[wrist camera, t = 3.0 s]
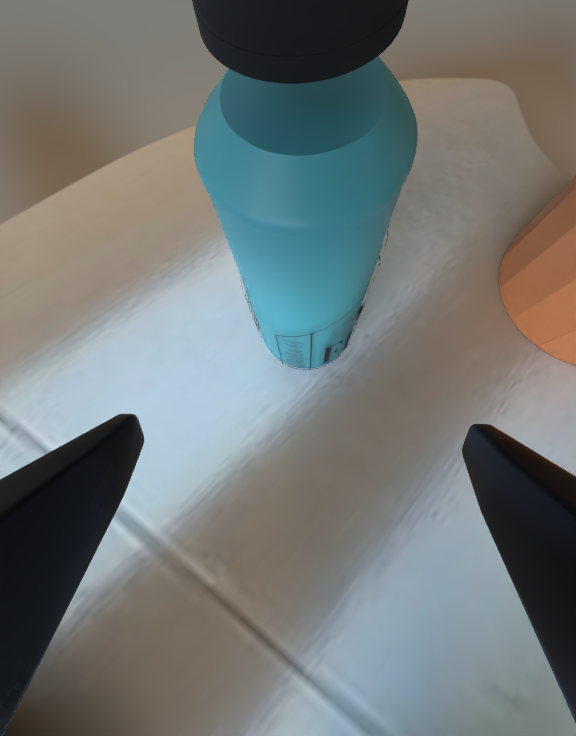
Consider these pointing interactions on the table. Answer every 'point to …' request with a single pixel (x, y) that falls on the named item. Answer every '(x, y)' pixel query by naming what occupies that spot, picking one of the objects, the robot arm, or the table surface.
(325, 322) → the beverage bottle
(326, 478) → the table surface
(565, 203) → the pot
